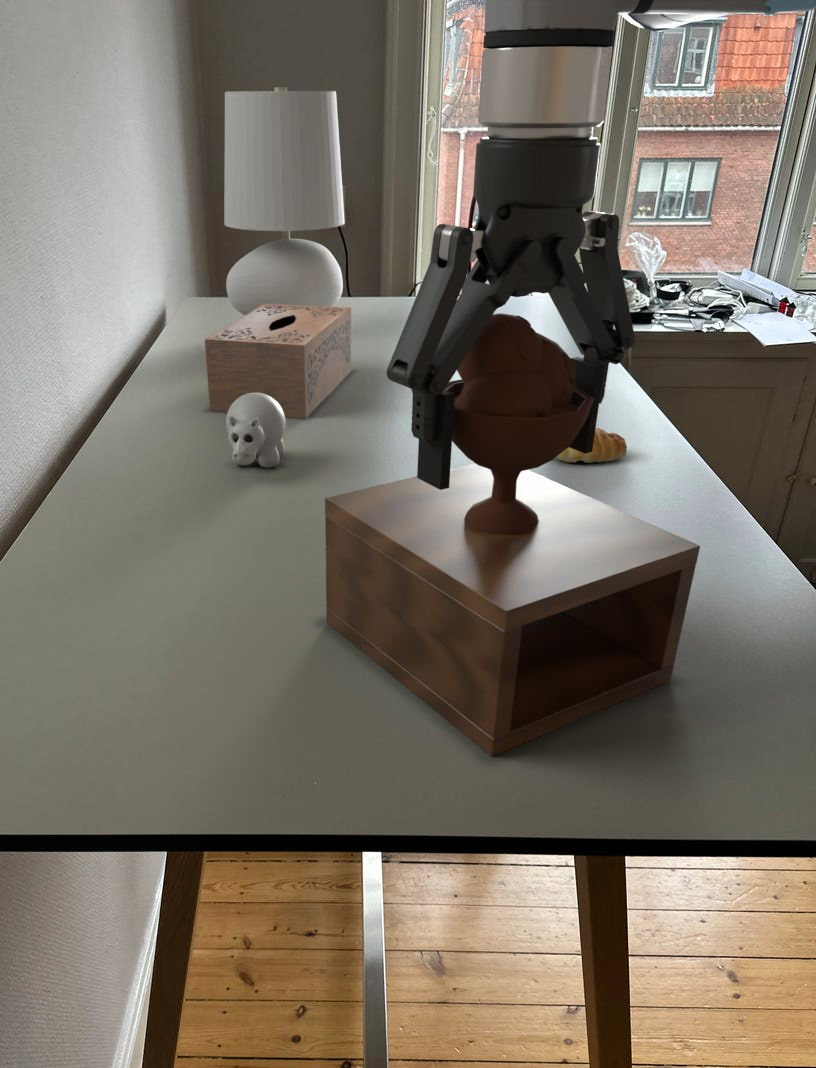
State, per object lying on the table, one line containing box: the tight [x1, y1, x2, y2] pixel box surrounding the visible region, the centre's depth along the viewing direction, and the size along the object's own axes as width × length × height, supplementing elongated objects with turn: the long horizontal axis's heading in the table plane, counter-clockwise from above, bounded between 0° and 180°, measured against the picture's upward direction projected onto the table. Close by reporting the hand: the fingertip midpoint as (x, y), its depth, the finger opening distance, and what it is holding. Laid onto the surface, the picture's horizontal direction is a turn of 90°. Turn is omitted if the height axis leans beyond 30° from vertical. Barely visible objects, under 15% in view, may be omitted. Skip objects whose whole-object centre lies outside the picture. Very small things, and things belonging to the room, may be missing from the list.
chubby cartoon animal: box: [225, 393, 287, 469], centre depth 109 cm, size 7×12×8 cm, turn 169°
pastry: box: [555, 427, 628, 463], centre depth 114 cm, size 9×7×4 cm
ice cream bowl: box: [444, 312, 594, 535], centre depth 65 cm, size 11×11×15 cm
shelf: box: [324, 462, 701, 757], centre depth 72 cm, size 22×18×12 cm
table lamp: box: [223, 86, 346, 316], centre depth 164 cm, size 23×22×40 cm
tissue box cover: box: [204, 304, 352, 419], centre depth 138 cm, size 26×14×10 cm, turn 165°
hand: (507, 465), depth 67 cm, fingers open, 13 cm apart
